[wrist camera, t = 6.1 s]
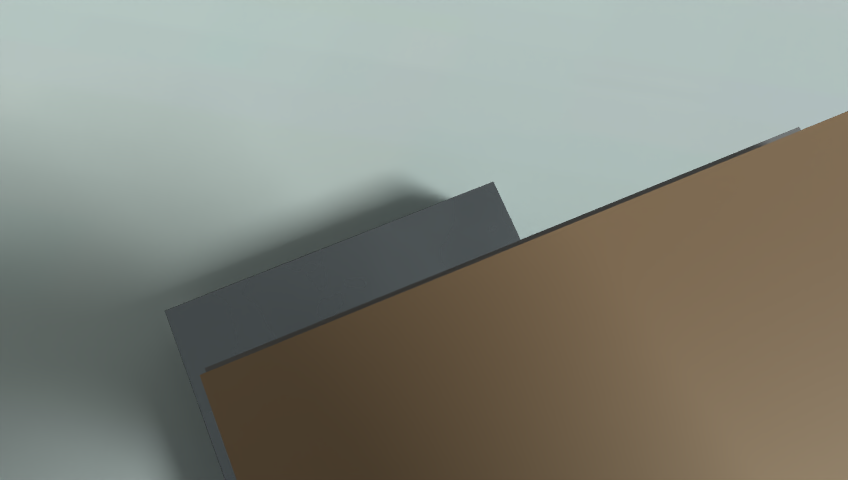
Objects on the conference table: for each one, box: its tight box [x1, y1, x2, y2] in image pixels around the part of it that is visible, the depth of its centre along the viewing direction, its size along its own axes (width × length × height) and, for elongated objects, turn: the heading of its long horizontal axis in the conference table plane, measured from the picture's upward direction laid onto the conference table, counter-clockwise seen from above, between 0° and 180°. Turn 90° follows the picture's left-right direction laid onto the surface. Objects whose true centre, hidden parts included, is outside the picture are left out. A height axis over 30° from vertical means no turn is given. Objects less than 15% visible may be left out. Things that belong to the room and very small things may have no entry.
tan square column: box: [200, 111, 848, 480], centre depth 9 cm, size 4×4×13 cm
